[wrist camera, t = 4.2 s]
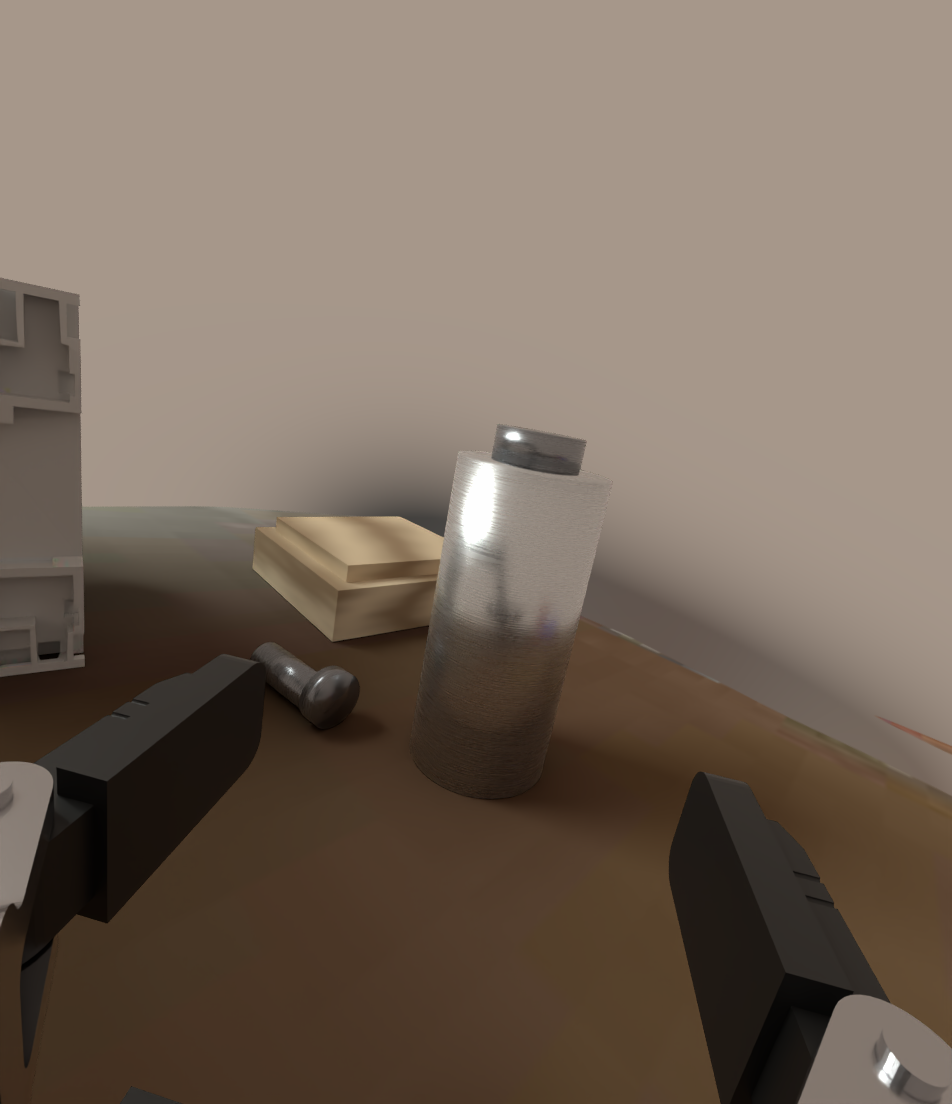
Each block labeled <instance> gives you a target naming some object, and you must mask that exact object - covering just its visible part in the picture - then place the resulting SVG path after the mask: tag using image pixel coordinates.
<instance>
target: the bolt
mask: <svg viewBox="0 0 952 1104" xmlns="http://www.w3.org/2000/svg"><path fill="white" fill-rule="evenodd" d="M250 660H252V661H256V662H260V663H262V664H263V665H264V666H265V670H266V681H265V682H266V683H268V684H269V685H270V686H272V687H273V688H274V689H275V690H277V691H278V692H279V693H280V694H282V695H283V696H284V697H285V698H287V699H288V700H289V701H290V702H292V703H293V704H294V705H296V706H297V707H298V708H299V709H300V711H301V713H302V715H303V716H304V717H305V718H307V719H308V720H309V721H310V722H312V723H313V724H314V725H315V726H317V727H319V728H322V729H327V728H331V727H334V726H336V725H337V724H339V723H340V722H342V721H343V720H344V719H345V718H346V717H347V716H348V715H349V714H350V713H351V711H352V710H353V708H354V706H355V704H356V702H357V700H358V697H359V691H360V686H359V682H358V680H357V678H356V677H355V676H353V675H352V674H350V673H349V672H347V671H346V670H344V669H343V668H341V667H339V666H328V667H325V668H323V669H321V670H320V671H318V672H316V671H315V670H314V669H312V668H311V667H309V666H308V665H307V664H305V663H304V662H302V661H301V660H299V659H298V658H297V657H295V656H294V655H292V654H291V653H289V652H288V651H287V650H285V649H284V648H282V647H281V646H279V645H278V644H277V643H274V642H267V643H264V644H262V645H261V646H259V647H258V648H257V649H256V650H255V651H254V652H253V654H252V656H251V658H250Z"/></svg>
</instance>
